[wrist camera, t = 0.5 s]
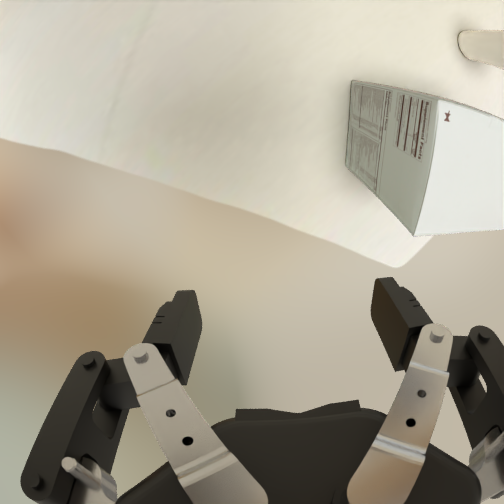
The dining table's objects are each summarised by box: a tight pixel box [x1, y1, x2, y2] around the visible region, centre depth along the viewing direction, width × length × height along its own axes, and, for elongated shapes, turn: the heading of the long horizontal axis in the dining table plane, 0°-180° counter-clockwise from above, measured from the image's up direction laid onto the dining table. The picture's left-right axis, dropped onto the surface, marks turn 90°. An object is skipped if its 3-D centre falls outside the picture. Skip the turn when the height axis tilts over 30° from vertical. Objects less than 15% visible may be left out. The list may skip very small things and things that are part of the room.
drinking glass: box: [458, 30, 504, 70], centre depth 18 cm, size 7×7×15 cm
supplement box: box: [346, 80, 504, 237], centre depth 27 cm, size 17×13×18 cm
